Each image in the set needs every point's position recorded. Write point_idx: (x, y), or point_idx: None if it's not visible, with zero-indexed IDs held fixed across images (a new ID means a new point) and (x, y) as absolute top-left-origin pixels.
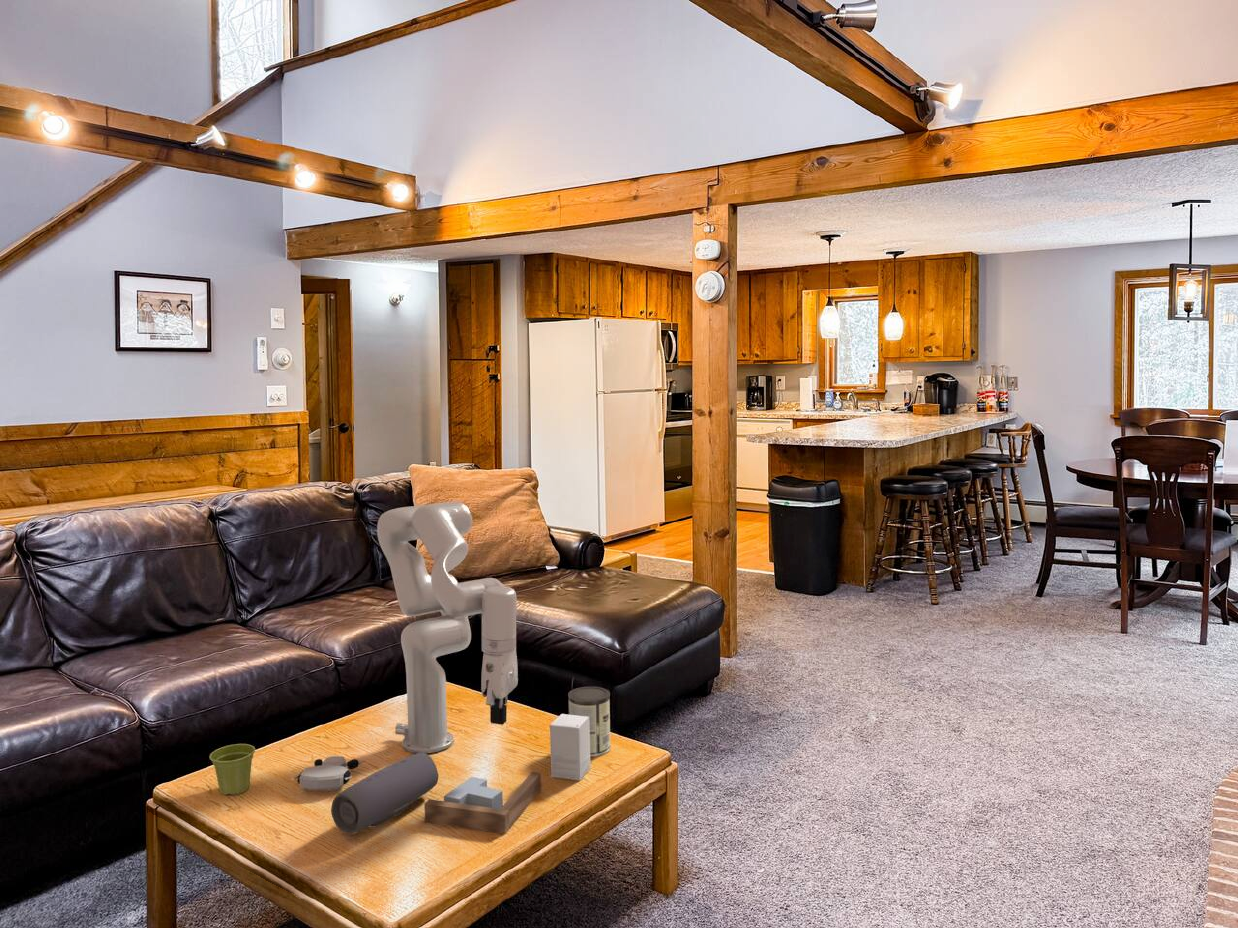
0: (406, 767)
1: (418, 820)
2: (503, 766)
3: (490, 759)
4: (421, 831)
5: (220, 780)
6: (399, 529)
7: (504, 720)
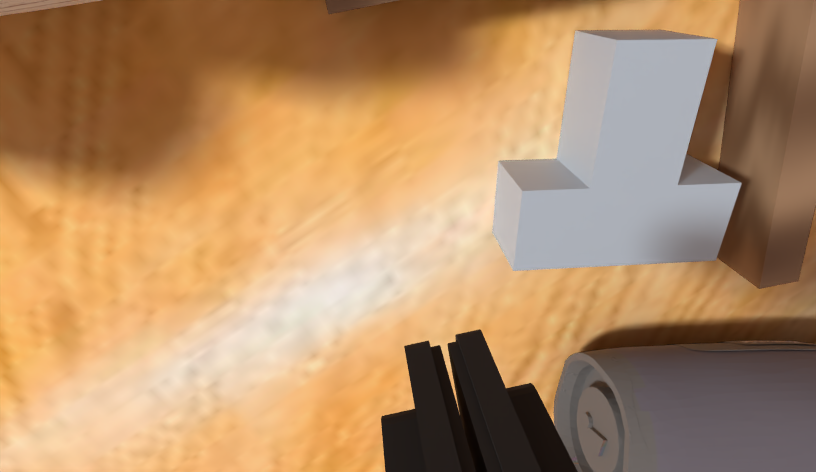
0: (785, 468)
1: None
2: (217, 269)
3: (197, 346)
4: None
5: None
6: None
7: (462, 351)
